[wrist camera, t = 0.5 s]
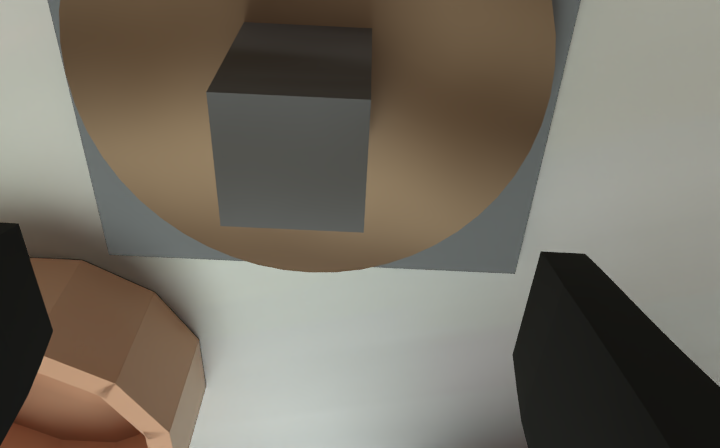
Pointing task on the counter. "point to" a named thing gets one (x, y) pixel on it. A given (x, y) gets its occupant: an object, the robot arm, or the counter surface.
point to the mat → (456, 253)
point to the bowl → (109, 366)
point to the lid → (312, 116)
